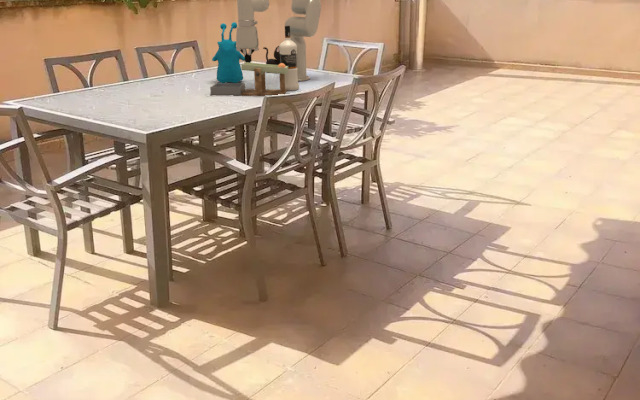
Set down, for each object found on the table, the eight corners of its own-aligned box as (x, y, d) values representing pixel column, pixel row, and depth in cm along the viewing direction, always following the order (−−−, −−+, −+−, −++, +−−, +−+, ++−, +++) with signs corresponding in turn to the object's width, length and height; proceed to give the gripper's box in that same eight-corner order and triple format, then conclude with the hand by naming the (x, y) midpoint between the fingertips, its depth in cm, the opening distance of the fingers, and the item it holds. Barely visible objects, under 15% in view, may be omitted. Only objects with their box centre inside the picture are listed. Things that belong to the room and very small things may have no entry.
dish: (216, 91, 331) (215, 83, 329) (245, 91, 329) (244, 83, 328) (210, 95, 321) (210, 87, 320) (240, 95, 319) (240, 87, 318)
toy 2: (284, 74, 375) (284, 46, 370) (261, 73, 380) (259, 45, 375) (291, 72, 382) (290, 44, 377) (267, 71, 387) (266, 43, 382)
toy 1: (247, 78, 364) (244, 20, 354) (245, 84, 347) (242, 23, 337) (216, 79, 364) (212, 20, 354) (212, 85, 347) (207, 24, 337)
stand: (286, 91, 327) (285, 64, 323) (283, 96, 317) (282, 68, 313) (246, 91, 329) (245, 65, 325) (241, 95, 319) (239, 68, 315)
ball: (278, 69, 320) (279, 62, 319) (285, 70, 320) (286, 63, 319) (276, 70, 317) (277, 63, 316) (284, 72, 317) (285, 64, 316)
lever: (290, 71, 331) (291, 62, 330) (285, 77, 316) (286, 68, 315) (246, 67, 333) (246, 58, 332) (239, 73, 318) (239, 64, 316)
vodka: (292, 87, 338) (290, 24, 328) (302, 89, 331) (301, 25, 321) (276, 89, 334) (273, 25, 324) (286, 92, 326) (283, 27, 316)
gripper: (263, 23, 325) (265, 62, 332) (232, 23, 327) (234, 62, 333) (260, 24, 318) (262, 64, 325) (228, 24, 320) (231, 64, 326)
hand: (248, 63), depth 329 cm, fingers closed
